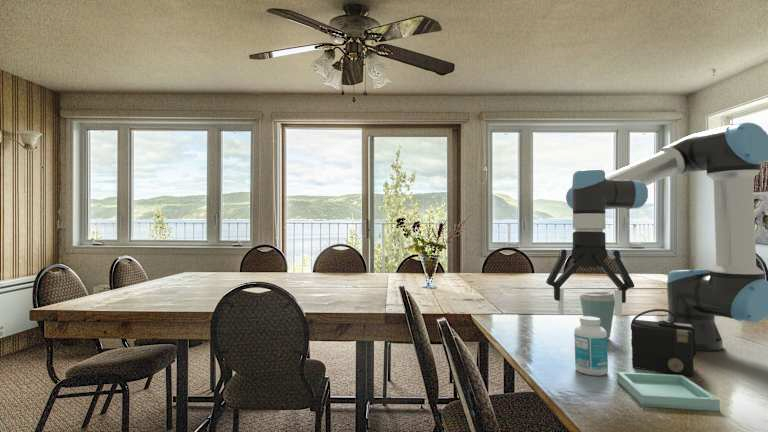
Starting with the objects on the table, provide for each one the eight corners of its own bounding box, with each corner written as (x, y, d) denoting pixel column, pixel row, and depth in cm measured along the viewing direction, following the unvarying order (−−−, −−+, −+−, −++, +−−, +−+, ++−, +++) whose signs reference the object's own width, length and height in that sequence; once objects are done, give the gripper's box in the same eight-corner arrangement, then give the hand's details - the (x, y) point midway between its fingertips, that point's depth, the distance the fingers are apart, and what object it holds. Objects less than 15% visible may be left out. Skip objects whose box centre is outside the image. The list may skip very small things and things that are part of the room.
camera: (698, 379, 100) (696, 316, 101) (630, 369, 108) (629, 310, 108) (693, 366, 110) (692, 309, 110) (632, 358, 117) (631, 304, 117)
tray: (682, 384, 97) (682, 375, 97) (719, 411, 83) (719, 399, 83) (617, 381, 100) (617, 371, 100) (642, 406, 86) (642, 395, 86)
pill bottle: (607, 369, 108) (606, 316, 108) (608, 378, 101) (607, 322, 102) (575, 365, 111) (574, 313, 111) (574, 374, 104) (573, 319, 105)
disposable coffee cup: (581, 340, 135) (580, 293, 135) (579, 332, 145) (578, 289, 145) (618, 344, 131) (618, 295, 131) (614, 335, 141) (613, 290, 141)
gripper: (636, 231, 109) (636, 313, 108) (534, 230, 113) (534, 309, 112) (649, 231, 101) (649, 320, 101) (540, 230, 105) (540, 315, 105)
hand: (589, 314), depth 106 cm, fingers open, 13 cm apart
